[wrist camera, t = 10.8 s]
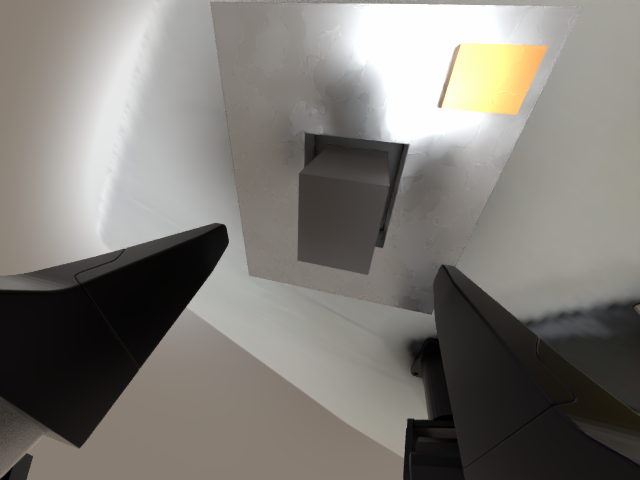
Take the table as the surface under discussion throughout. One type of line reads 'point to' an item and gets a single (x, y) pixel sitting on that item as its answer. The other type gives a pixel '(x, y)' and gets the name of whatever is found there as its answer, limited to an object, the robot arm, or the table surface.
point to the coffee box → (637, 308)
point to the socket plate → (379, 122)
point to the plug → (342, 207)
